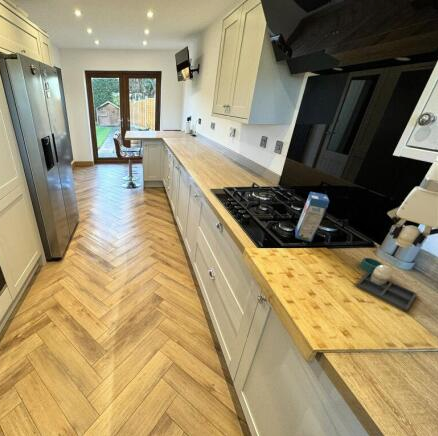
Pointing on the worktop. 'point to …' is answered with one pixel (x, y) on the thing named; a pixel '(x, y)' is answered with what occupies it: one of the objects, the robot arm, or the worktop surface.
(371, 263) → the egg cup
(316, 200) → the milk carton
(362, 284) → the egg tray
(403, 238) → the egg
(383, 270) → the egg
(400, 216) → the robot arm
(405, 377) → the worktop surface
